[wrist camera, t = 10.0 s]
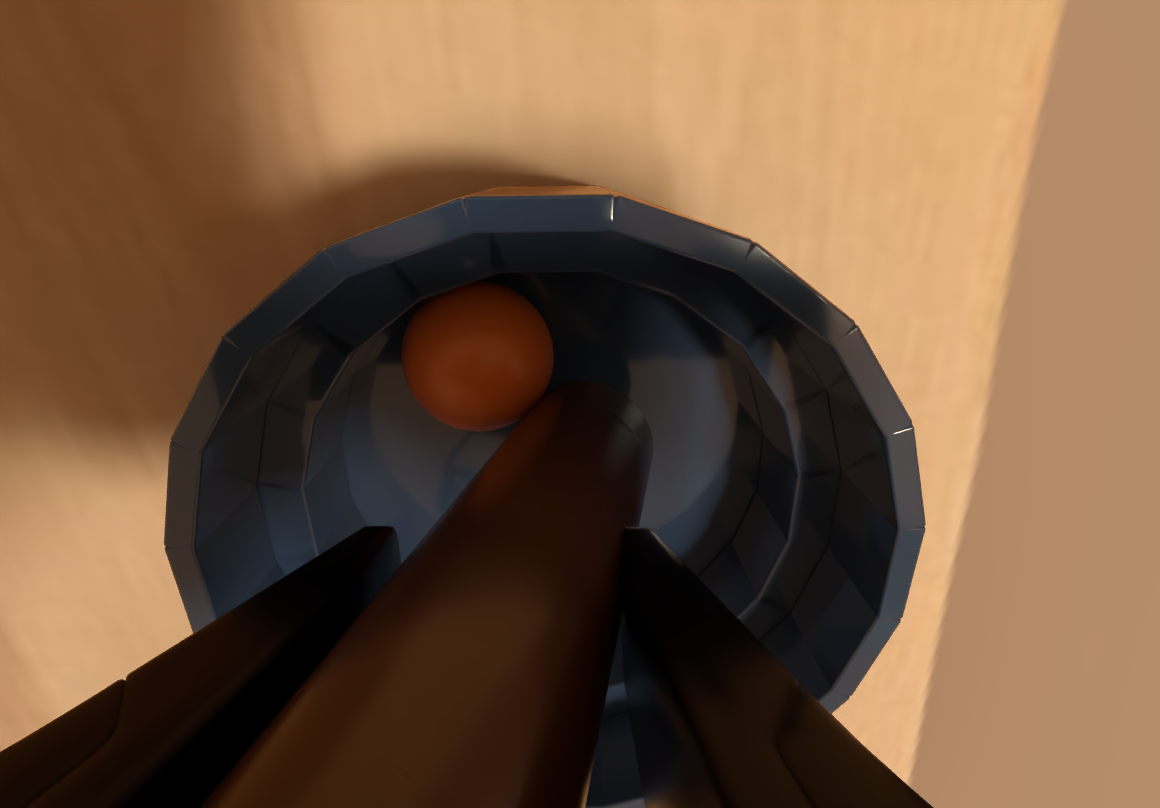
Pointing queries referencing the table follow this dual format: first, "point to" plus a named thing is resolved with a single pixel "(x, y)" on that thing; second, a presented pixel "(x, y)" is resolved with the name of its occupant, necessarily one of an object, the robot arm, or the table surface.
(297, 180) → the table surface
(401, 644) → the cylinder
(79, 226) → the table surface
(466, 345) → the bead
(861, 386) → the bowl
